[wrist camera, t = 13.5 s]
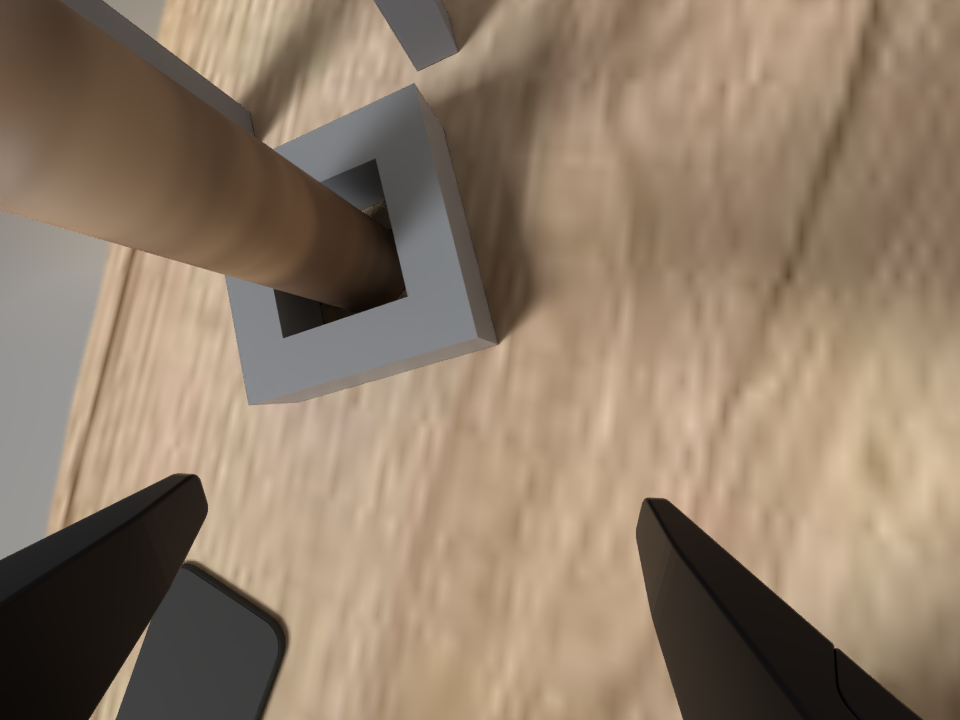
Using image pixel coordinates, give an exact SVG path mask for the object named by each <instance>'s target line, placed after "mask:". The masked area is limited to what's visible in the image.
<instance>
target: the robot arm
mask: <svg viewBox="0 0 960 720" xmlns="http://www.w3.org/2000/svg"><path fill="white" fill-rule="evenodd" d="M207 512H208V503H207V500H206V496H205V493H204V490H203V486H202V483H201V480H200V478H199V477H198V476H197V475H195V474H183V473H178V474H173V475H171V476H169V477H167V478H165V479H163V480H161V481H159V482H157V483H155V484H153V485H151V486H149V487H147V488H145V489H143V490H141V491H139V492H137V493H135V494H133V495H131V496H129V497H126V498H124V499H122V500H120V501H118V502H116V503H114V504H112V505H110V506H108V507H106V508H104V509H102V510H100V511H98V512H96V513H94V514H92V515H90V516H88V517H86V518H84V519H82V520H80V521H78V522H76V523H74V524H72V525H70V526H68V527H66V528H64V529H62V530H60V531H58V532H56V533H54V534H52V535H50V536H48V537H46V538H44V539H42V540H40V541H38V542H36V543H34V544H32V545H30V546H28V547H26V548H24V549H22V550H20V551H18V552H16V553H14V554H12V555H9V556H7V557H6V558H3V559H2V560H0V720H89V718H90V717H91V715H92V714H93V712H94V710H95V709H96V707H97V706H98V704H99V702H100V701H101V699H102V697H103V696H104V694H105V693H106V691H107V689H108V688H109V686H110V685H111V683H112V681H113V680H114V678H115V677H116V675H117V673H118V672H119V670H120V669H121V667H122V665H123V664H124V662H125V661H126V659H127V657H128V656H129V654H130V653H131V651H132V649H133V648H134V646H135V644H136V643H137V641H138V640H139V638H140V636H141V635H142V633H143V632H144V630H145V628H146V627H147V625H148V624H149V622H150V620H151V619H152V617H153V616H154V614H155V612H156V611H157V609H158V608H159V606H160V604H161V603H162V601H163V599H164V598H165V596H166V594H167V593H168V591H169V589H170V587H171V586H172V584H173V582H174V580H175V578H176V576H177V574H178V572H179V570H180V568H181V566H182V564H183V562H184V560H185V558H186V556H187V554H188V552H189V550H190V548H191V546H192V544H193V542H194V540H195V538H196V536H197V534H198V532H199V530H200V528H201V526H202V524H203V522H204V520H205V518H206V516H207ZM636 540H637V545H638V550H639V556H640V561H641V566H642V571H643V576H644V581H645V586H646V591H647V597H648V602H649V606H650V611H651V616H652V620H653V623H654V627H655V630H656V633H657V637H658V640H659V643H660V646H661V650H662V653H663V656H664V659H665V663H666V666H667V669H668V672H669V676H670V679H671V682H672V685H673V688H674V692H675V695H676V698H677V701H678V705H679V708H680V711H681V714H682V718H683V720H923V719H922V718H921V717H920V716H918V715H917V714H916V713H915V712H913V711H912V710H911V709H910V708H908V707H907V706H906V705H905V704H903V703H902V702H901V701H900V700H898V699H897V698H896V697H895V696H894V695H893V694H891V693H890V692H889V691H888V690H887V689H885V688H884V687H883V686H882V685H881V684H880V683H878V682H877V681H876V680H875V679H874V678H872V677H871V676H870V675H869V674H868V673H866V672H865V671H864V670H863V669H862V668H861V667H859V666H858V665H857V664H856V663H855V662H854V661H853V660H851V659H850V658H849V657H848V656H847V655H846V654H845V653H843V652H842V651H841V650H840V649H838V648H835V649H834V645H833V643H832V642H830V641H829V640H828V639H827V638H826V637H825V636H824V635H822V634H821V633H820V632H819V631H818V630H817V629H816V628H814V627H813V626H812V625H811V624H810V623H809V622H807V621H806V620H805V619H804V618H803V617H802V616H801V615H799V614H798V613H797V612H796V611H795V610H794V609H793V608H791V607H790V606H789V605H788V604H787V603H786V602H785V601H783V600H782V599H781V598H780V597H779V596H778V595H776V594H775V593H774V592H773V591H772V590H771V589H770V588H768V587H767V586H766V585H765V584H764V583H763V582H762V581H760V580H759V579H758V578H757V577H756V576H755V575H753V574H752V573H751V572H750V571H749V570H748V569H747V568H745V567H744V566H743V565H742V564H741V563H740V562H739V561H737V560H736V559H735V558H734V557H733V556H732V555H730V554H729V553H728V552H727V551H726V550H725V549H724V548H722V547H721V546H720V545H719V544H718V543H717V542H716V541H714V540H713V539H712V538H711V537H710V536H709V535H708V534H706V533H705V532H704V531H703V530H702V529H701V528H699V527H698V526H697V525H696V524H695V523H694V522H693V521H691V520H690V519H689V518H688V517H687V516H686V515H685V514H683V513H682V512H681V511H680V510H679V509H678V508H676V507H675V506H674V505H673V504H672V503H671V502H670V501H668V500H667V499H664V498H649V497H648V498H645V499H644V501H643V502H642V506H641V510H640V515H639V519H638V523H637V528H636Z"/></svg>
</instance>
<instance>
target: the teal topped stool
mask: <svg viewBox="0 0 960 720" xmlns="http://www.w3.org/2000/svg"><path fill="white" fill-rule="evenodd" d="M60 1H61V2H63V3H64V4H65V5H67V6H68V7H70V8H71V9H73V10H74V11H75V12H77V13H78V14H80V15H81V16H83V17H84V18H85V19H87V20H88V21H90V22H91V23H93V24H94V25H96V26H97V27H98V28H100V29H101V30H103V31H104V32H106V33H107V34H108V35H110V36H111V37H113V38H114V39H116V40H117V41H118V42H120V43H121V44H123V45H124V46H126V47H127V48H128V49H130V50H131V51H133V52H134V53H136V54H137V55H138V56H140V57H141V58H143V59H144V60H146V61H147V62H148V63H150V64H151V65H153V66H154V67H156V68H157V69H158V70H160V71H161V72H163V73H164V74H166V75H167V76H169V77H170V78H171V79H173V80H174V81H176V82H177V83H179V84H180V85H181V86H183V87H184V88H186V89H187V90H189V91H190V92H191V93H193V94H194V95H196V96H197V97H199V98H200V99H201V100H203V101H204V102H206V103H207V104H209V105H210V106H211V107H213V108H214V109H216V110H217V111H219V112H220V113H221V114H223V115H224V116H226V117H227V118H229V119H230V120H231V121H233V122H234V123H236V124H237V125H239V126H240V127H242V128H243V129H244V130H246V131H247V132H249V133H250V134H252V135H253V136H254V132H253V127H252V122H251V116H250V112H249V111H248V110H246V109H245V108H244V107H243V106H241V105H240V104H239V103H237V102H236V101H235V100H233V99H232V98H231V97H229V96H228V95H227V94H225V93H224V92H223V91H221V90H220V89H219V88H217V87H216V86H215V85H214V84H212V83H211V82H210V81H208V80H207V79H206V78H204V77H203V76H202V75H200V74H199V73H198V72H196V71H195V70H194V69H192V68H191V67H190V66H188V65H187V64H186V63H184V62H183V61H182V60H181V59H179V58H178V57H177V56H175V55H174V54H173V53H171V52H170V51H169V50H167V49H166V48H165V47H163V46H162V45H161V44H159V43H158V42H157V41H155V40H154V39H153V38H151V37H150V36H149V35H148V34H146V33H145V32H144V31H142V30H141V29H140V28H138V27H137V26H136V25H134V24H133V23H132V22H130V21H129V20H128V19H126V18H125V17H124V16H122V15H121V14H120V13H118V12H117V11H116V10H114V9H113V8H112V7H110V6H109V5H108V4H107V3H105V2H104V1H103V0H60ZM374 1H375V3H376V5H377V6H378V8H379V10H380V11H381V13H382V15H383V16H384V18H385V19H386V21H387V23H388V24H389V26H390V28H391V29H392V31H393V32H394V34H395V36H396V37H397V39H398V41H399V42H400V44H401V45H402V47H403V49H404V50H405V52H406V54H407V55H408V57H409V59H410V60H411V62H412V63H413V65H414V67H415V68H416V70H417V71H419V70H421V69H423V68H425V67H427V66H430V65H432V64H434V63H436V62H438V61H440V60H442V59H444V58H446V57H449V56H451V55H453V54H455V53H457V52H458V50H457V46H456V42H455V39H454V35H453V31H452V27H451V23H450V20H449V16H448V12H447V10H446V8H445V5H444V3H443V1H442V0H374Z"/></svg>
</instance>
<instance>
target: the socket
mask: <svg viewBox="0 0 960 720" xmlns="http://www.w3.org/2000/svg"><path fill="white" fill-rule="evenodd" d="M273 150H274V151H276V152H277V153H279V154H280V155H282V156H283V157H284V158H286V159H287V160H289V161H290V162H292V163H293V164H294V165H296V166H297V167H299V168H300V169H302V170H303V171H305V172H306V173H307V174H309V175H310V176H312V177H313V178H315V179H316V180H317V181H319V182H320V183H322V184H323V185H325V186H326V187H327V188H329V189H330V190H332V191H333V192H335V193H336V194H337V195H339V196H340V197H342V198H343V199H345V200H346V201H347V202H349V203H350V204H352V205H353V206H355V207H356V208H357V209H359V210H362V209H365V208H367V207H370V206H372V205H375V204H377V203H380V202H382V201H384V200H386V205H387V209H388V213H389V218H390V222H391V226H392V231H393V235H394V239H395V243H396V248H397V252H398V256H399V261H400V265H401V269H402V274H403V278H404V282H405V287H406V291H407V295H408V297H405V298H402V299H399V300H396V301H393V302H390V303H387V304H384V305H381V306H379V307H376V308H373V309H370V310H367V311H364V312H361V313H358V314H355V315H352V316H349V317H346V318H343V319H340V320H337V321H334V322H331V323H328V324H325V325H324V323H323V318H322V313H321V309H320V304H319V301H315V300H312V299H308V298H305V297H301V296H298V295H294V294H291V293H287V292H284V291H280V290H277V289H273V288H270V287H266V286H263V285H259V284H256V283H252V282H249V281H245V280H242V279H238V278H235V277H231V276H228V275H225V278H226V284H227V289H228V295H229V300H230V306H231V311H232V317H233V322H234V328H235V333H236V339H237V344H238V350H239V355H240V361H241V366H242V372H243V377H244V383H245V388H246V394H247V400H248V405H264V404H281V403H298V402H301V401H305V400H308V399H312V398H315V397H319V396H322V395H326V394H329V393H332V392H336V391H339V390H343V389H346V388H350V387H353V386H357V385H360V384H364V383H367V382H371V381H374V380H378V379H381V378H384V377H388V376H391V375H395V374H398V373H402V372H405V371H409V370H412V369H416V368H419V367H423V366H426V365H430V364H433V363H436V362H440V361H443V360H447V359H450V358H454V357H457V356H461V355H464V354H468V353H471V352H475V351H478V350H481V349H485V348H488V347H492V346H495V345H498V342H497V338H496V334H495V331H494V327H493V323H492V319H491V315H490V311H489V307H488V303H487V299H486V295H485V291H484V287H483V283H482V279H481V276H480V272H479V268H478V264H477V260H476V256H475V252H474V248H473V244H472V240H471V236H470V232H469V228H468V224H467V221H466V217H465V213H464V209H463V205H462V201H461V197H460V193H459V189H458V185H457V181H456V177H455V173H454V169H453V166H452V162H451V158H450V154H449V150H448V146H447V142H446V138H445V134H444V130H443V127H442V125H441V123H440V122H439V120H438V119H437V117H436V116H435V114H434V113H433V111H432V110H431V108H430V107H429V105H428V103H427V102H426V100H425V99H424V97H423V96H422V94H421V93H420V91H419V90H418V88H417V86H416V85H415V83H413V84H411V85H409V86H407V87H405V88H403V89H401V90H399V91H396V92H394V93H392V94H390V95H388V96H386V97H384V98H381V99H379V100H377V101H375V102H373V103H371V104H369V105H366V106H364V107H362V108H360V109H358V110H356V111H354V112H352V113H349V114H347V115H345V116H343V117H341V118H339V119H337V120H334V121H332V122H330V123H328V124H326V125H324V126H322V127H319V128H317V129H315V130H313V131H311V132H309V133H307V134H305V135H302V136H300V137H298V138H296V139H294V140H292V141H290V142H287V143H285V144H283V145H281V146H279V147H277V148H275V149H273Z"/></svg>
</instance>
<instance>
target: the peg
mask: <svg viewBox="0 0 960 720" xmlns="http://www.w3.org/2000/svg"><path fill="white" fill-rule="evenodd" d="M0 210H1V211H4V212H8V213H11V214H15V215H18V216H22V217H25V218H29V219H32V220H36V221H39V222H43V223H47V224H50V225H53V226H57V227H60V228H64V229H67V230H71V231H74V232H78V233H81V234H85V235H88V236H92V237H95V238H99V239H102V240H106V241H109V242H113V243H116V244H119V245H123V246H126V247H130V248H133V249H137V250H140V251H144V252H147V253H151V254H154V255H158V256H161V257H165V258H168V259H172V260H175V261H179V262H182V263H186V264H189V265H193V266H196V267H200V268H203V269H207V270H210V271H214V272H217V273H221V274H224V275H228V276H231V277H235V278H238V279H242V280H245V281H249V282H252V283H256V284H259V285H263V286H266V287H270V288H273V289H277V290H280V291H284V292H287V293H291V294H294V295H298V296H301V297H305V298H308V299H312V300H315V301H319V302H322V303H326V304H329V305H333V306H336V307H340V308H343V309H347V310H350V311H354V312H357V313H361V312H364V311H367V310H370V309H373V308H376V307H379V306H381V305H384V304H387V303H390V302H393V301H395V300H396V299H397V298H398V296H399V295H400V293H401V292H402V290H403V288H404V286H405V282H404V278H403V274H402V269H401V265H400V261H399V256H398V252H397V248H396V243H395V239H394V235H393V233H392V232H390V231H389V230H388V229H386V228H385V227H383V226H382V225H380V224H379V223H378V222H376V221H375V220H373V219H372V218H370V217H369V216H367V215H366V214H365V213H363V212H362V211H360V210H359V209H357V208H356V207H355V206H353V205H352V204H350V203H349V202H347V201H346V200H345V199H343V198H342V197H340V196H339V195H337V194H336V193H335V192H333V191H332V190H330V189H329V188H327V187H326V186H325V185H323V184H322V183H320V182H319V181H317V180H316V179H315V178H313V177H312V176H310V175H309V174H307V173H306V172H305V171H303V170H302V169H300V168H299V167H297V166H296V165H294V164H293V163H292V162H290V161H289V160H287V159H286V158H284V157H283V156H282V155H280V154H279V153H277V152H276V151H274V150H273V149H272V148H270V147H269V146H267V145H266V144H264V143H263V142H262V141H260V140H259V139H257V138H256V137H254V136H253V135H252V134H250V133H249V132H247V131H246V130H244V129H243V128H242V127H240V126H239V125H237V124H236V123H234V122H233V121H231V120H230V119H229V118H227V117H226V116H224V115H223V114H221V113H220V112H219V111H217V110H216V109H214V108H213V107H211V106H210V105H209V104H207V103H206V102H204V101H203V100H201V99H200V98H199V97H197V96H196V95H194V94H193V93H191V92H190V91H189V90H187V89H186V88H184V87H183V86H181V85H180V84H179V83H177V82H176V81H174V80H173V79H171V78H170V77H169V76H167V75H166V74H164V73H163V72H161V71H160V70H158V69H157V68H156V67H154V66H153V65H151V64H150V63H148V62H147V61H146V60H144V59H143V58H141V57H140V56H138V55H137V54H136V53H134V52H133V51H131V50H130V49H128V48H127V47H126V46H124V45H123V44H121V43H120V42H118V41H117V40H116V39H114V38H113V37H111V36H110V35H108V34H107V33H106V32H104V31H103V30H101V29H100V28H98V27H97V26H96V25H94V24H93V23H91V22H90V21H88V20H87V19H85V18H84V17H83V16H81V15H80V14H78V13H77V12H75V11H74V10H73V9H71V8H70V7H68V6H67V5H65V4H64V3H63V2H61V1H60V0H0Z"/></svg>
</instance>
